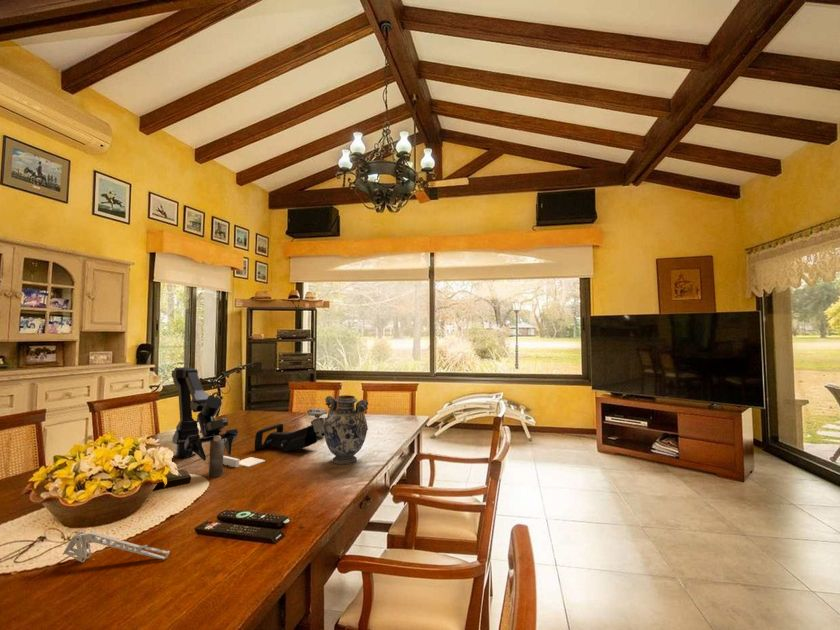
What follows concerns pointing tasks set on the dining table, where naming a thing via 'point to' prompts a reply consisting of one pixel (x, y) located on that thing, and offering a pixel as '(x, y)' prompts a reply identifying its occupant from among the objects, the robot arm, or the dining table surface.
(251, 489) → the dining table surface
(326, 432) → the decorative vase
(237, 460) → the low frosted rail
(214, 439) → the pepper mill
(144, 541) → the dining table surface
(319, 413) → the figurine
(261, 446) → the black looped hood device
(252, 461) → the coaster
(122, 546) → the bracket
